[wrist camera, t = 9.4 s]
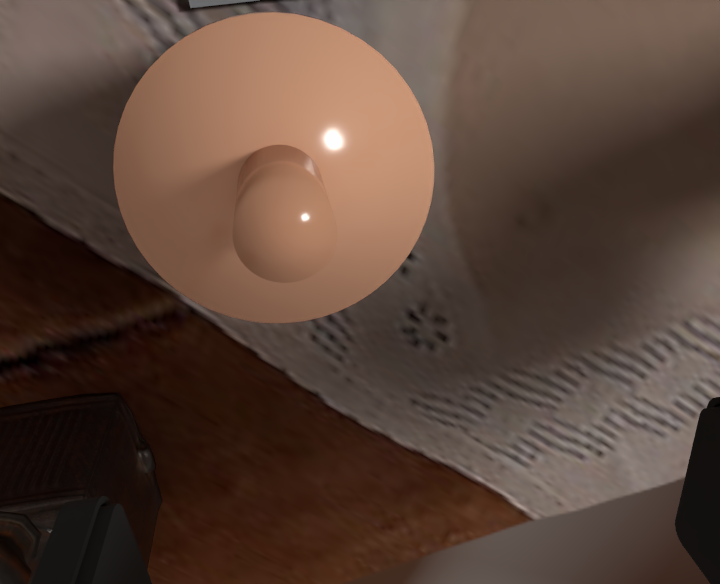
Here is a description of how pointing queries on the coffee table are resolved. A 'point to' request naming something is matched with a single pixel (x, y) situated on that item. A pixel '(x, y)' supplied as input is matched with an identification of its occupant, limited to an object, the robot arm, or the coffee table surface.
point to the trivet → (213, 2)
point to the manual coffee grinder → (69, 473)
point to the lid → (273, 167)
